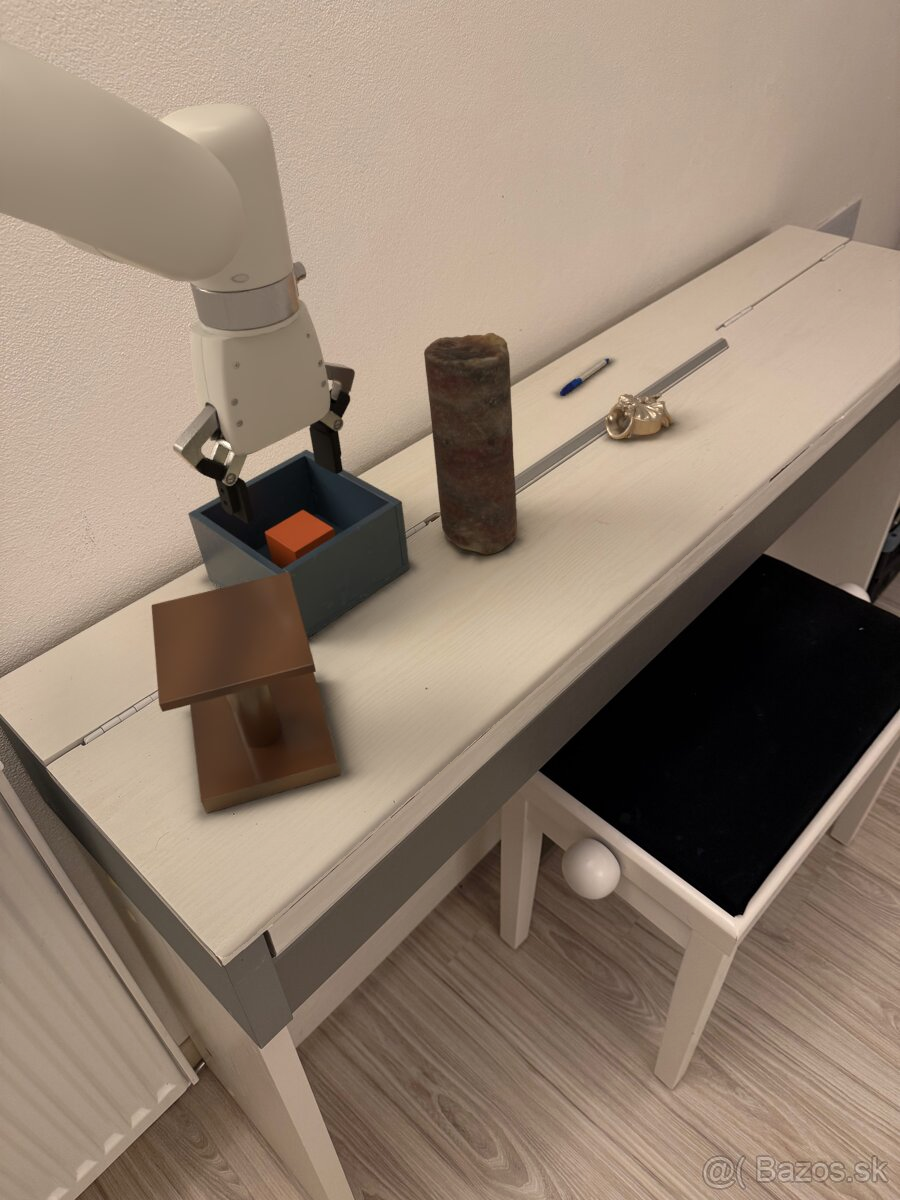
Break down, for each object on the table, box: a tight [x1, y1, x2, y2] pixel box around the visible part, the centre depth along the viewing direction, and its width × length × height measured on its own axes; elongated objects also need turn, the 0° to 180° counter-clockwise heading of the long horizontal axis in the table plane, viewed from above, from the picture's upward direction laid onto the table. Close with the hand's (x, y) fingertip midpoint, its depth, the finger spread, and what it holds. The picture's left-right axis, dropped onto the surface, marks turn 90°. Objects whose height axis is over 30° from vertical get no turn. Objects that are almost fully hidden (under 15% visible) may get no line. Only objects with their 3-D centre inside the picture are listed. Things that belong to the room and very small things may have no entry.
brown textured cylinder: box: [423, 332, 518, 555], centre depth 78 cm, size 8×7×20 cm
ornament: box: [604, 392, 675, 440], centre depth 96 cm, size 8×7×4 cm
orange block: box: [265, 510, 335, 569], centre depth 80 cm, size 4×4×4 cm
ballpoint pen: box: [559, 358, 610, 396], centre depth 107 cm, size 10×1×1 cm, turn 142°
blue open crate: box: [187, 449, 411, 639], centre depth 79 cm, size 14×14×8 cm
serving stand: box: [151, 572, 341, 814], centre depth 63 cm, size 10×10×12 cm
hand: (286, 491), depth 75 cm, fingers open, 9 cm apart
